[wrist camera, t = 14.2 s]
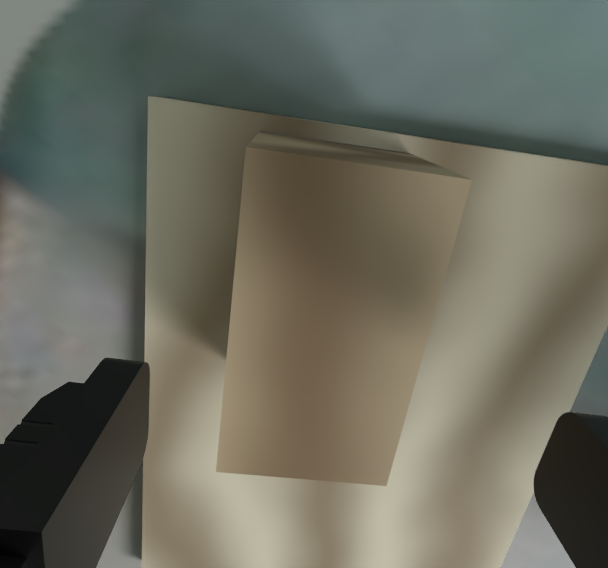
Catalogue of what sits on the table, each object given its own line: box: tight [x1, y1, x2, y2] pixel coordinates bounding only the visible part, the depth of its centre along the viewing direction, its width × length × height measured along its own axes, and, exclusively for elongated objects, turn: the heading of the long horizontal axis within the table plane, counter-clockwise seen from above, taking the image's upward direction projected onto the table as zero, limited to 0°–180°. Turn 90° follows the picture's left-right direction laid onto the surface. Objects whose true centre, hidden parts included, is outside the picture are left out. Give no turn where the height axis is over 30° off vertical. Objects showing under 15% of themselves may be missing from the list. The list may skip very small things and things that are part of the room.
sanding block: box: [216, 131, 472, 486], centre depth 14 cm, size 5×9×6 cm, turn 172°
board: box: [142, 96, 608, 568], centre depth 20 cm, size 18×23×1 cm
